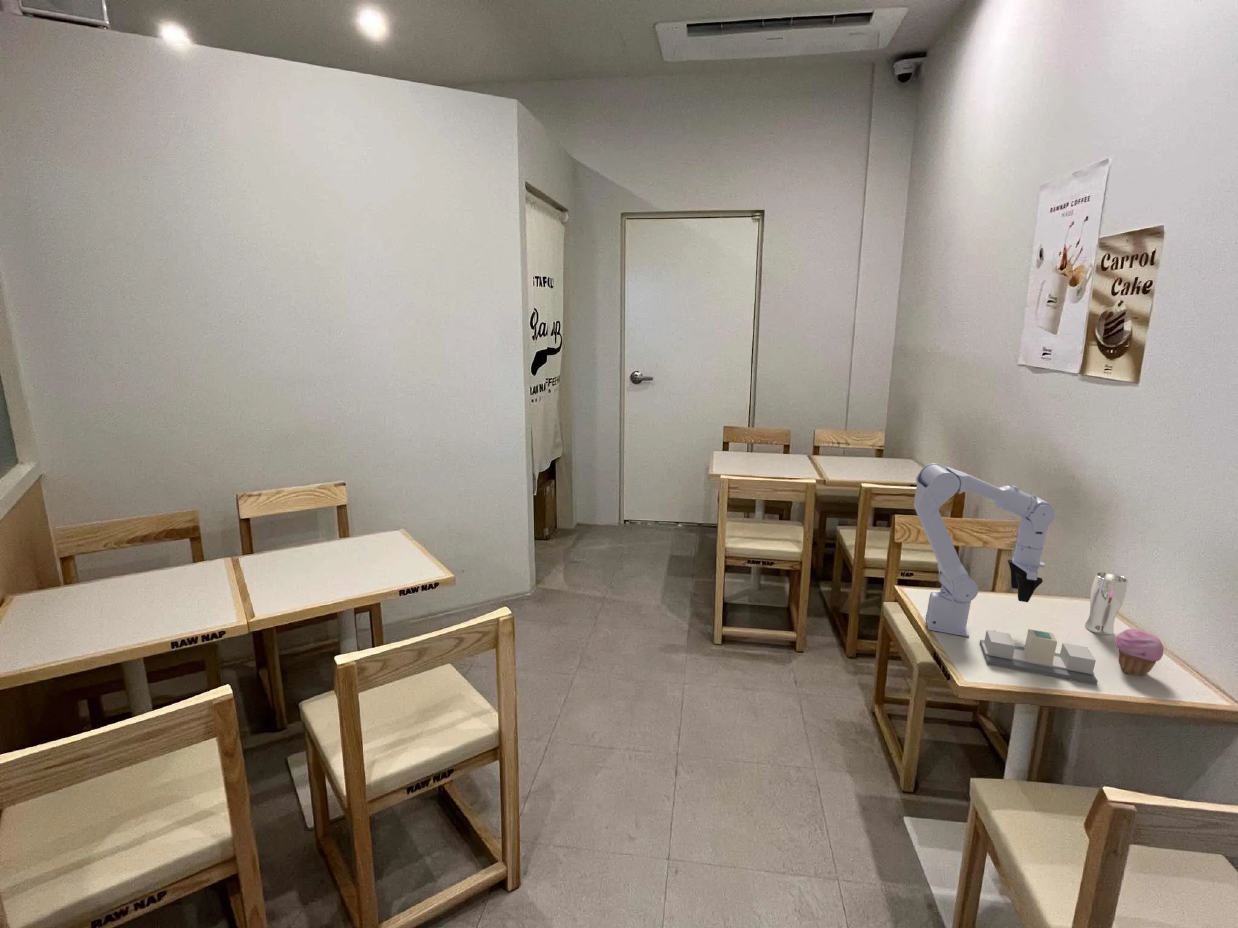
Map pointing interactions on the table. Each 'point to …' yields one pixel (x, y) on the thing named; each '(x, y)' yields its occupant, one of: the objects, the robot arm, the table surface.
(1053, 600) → the table surface
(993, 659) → the rail board
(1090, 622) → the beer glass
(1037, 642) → the block
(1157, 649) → the cupcake
